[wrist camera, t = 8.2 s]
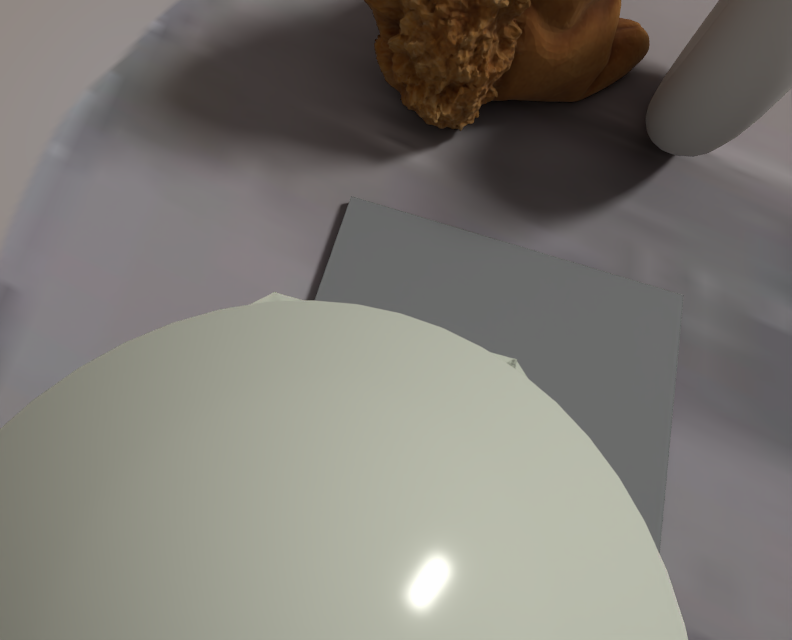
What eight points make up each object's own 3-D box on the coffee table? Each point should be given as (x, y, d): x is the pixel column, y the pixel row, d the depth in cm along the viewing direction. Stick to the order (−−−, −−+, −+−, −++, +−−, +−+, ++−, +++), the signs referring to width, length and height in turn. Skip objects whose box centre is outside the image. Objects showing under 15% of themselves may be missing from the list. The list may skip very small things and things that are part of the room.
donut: (683, 38, 25) (895, -234, 15) (744, 74, 24) (999, -181, 15) (593, 172, 22) (787, -61, 12) (661, 215, 21) (913, 10, 12)
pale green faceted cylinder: (414, 693, 15) (690, 1561, 3) (177, 630, 15) (-511, 1277, 3) (465, 448, 17) (734, 394, 5) (259, 392, 17) (65, 209, 5)
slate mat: (628, 800, 15) (635, 809, 15) (185, 673, 15) (180, 679, 14) (677, 298, 20) (683, 295, 20) (351, 201, 20) (351, 196, 20)
